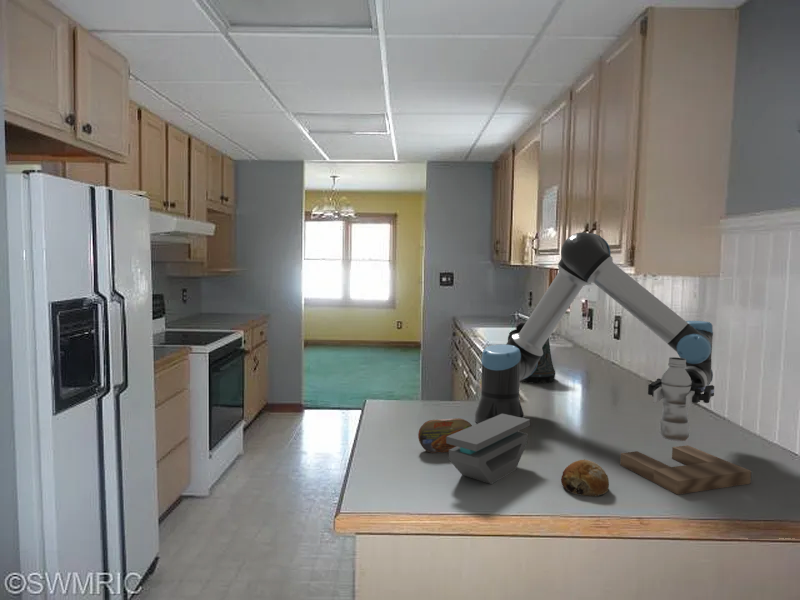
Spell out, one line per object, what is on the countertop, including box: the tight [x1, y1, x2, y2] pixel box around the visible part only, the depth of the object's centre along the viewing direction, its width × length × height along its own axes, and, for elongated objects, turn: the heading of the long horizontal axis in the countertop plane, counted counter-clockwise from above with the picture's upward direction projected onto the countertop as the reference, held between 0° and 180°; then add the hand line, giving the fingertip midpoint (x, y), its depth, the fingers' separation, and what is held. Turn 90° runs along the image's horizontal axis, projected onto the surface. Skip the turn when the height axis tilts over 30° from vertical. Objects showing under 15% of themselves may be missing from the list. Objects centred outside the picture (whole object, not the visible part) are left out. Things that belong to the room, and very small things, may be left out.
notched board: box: [619, 444, 752, 495], centre depth 132 cm, size 21×18×3 cm
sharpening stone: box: [446, 414, 531, 485], centre depth 131 cm, size 25×8×11 cm, turn 140°
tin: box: [417, 418, 473, 454], centre depth 146 cm, size 15×3×8 cm, turn 101°
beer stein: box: [507, 322, 556, 384], centre depth 234 cm, size 16×19×25 cm
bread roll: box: [560, 458, 610, 497], centre depth 123 cm, size 10×10×8 cm
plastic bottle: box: [658, 356, 692, 442], centre depth 134 cm, size 6×7×20 cm
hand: (671, 399), depth 130 cm, fingers closed on plastic bottle, 6 cm apart
